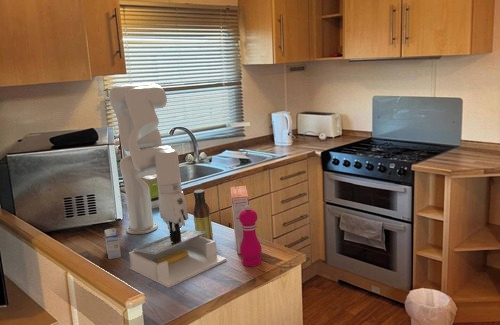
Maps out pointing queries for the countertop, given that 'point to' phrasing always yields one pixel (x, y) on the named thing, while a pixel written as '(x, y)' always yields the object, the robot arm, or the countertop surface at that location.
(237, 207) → the cracker box
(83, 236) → the countertop surface
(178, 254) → the golden yellow ridged bar
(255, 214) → the pepper mill
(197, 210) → the sauce bottle
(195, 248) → the white shallow open box
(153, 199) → the tea box
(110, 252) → the medicine box
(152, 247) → the cover
